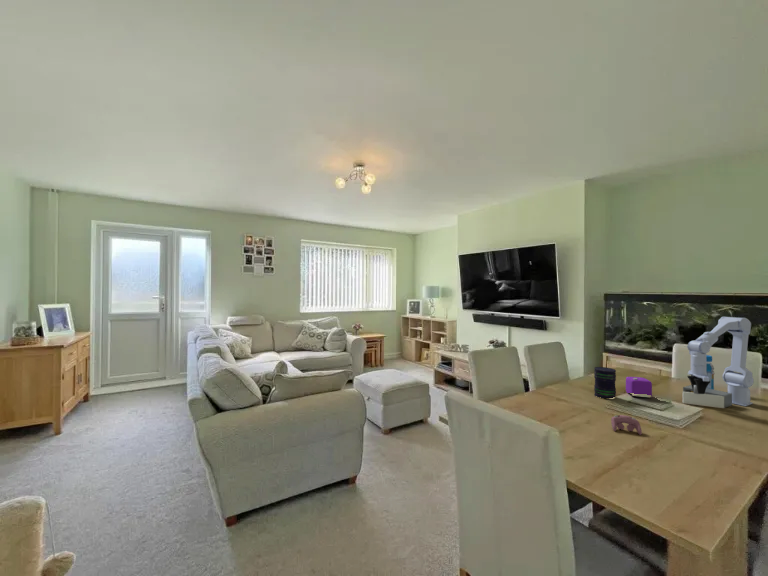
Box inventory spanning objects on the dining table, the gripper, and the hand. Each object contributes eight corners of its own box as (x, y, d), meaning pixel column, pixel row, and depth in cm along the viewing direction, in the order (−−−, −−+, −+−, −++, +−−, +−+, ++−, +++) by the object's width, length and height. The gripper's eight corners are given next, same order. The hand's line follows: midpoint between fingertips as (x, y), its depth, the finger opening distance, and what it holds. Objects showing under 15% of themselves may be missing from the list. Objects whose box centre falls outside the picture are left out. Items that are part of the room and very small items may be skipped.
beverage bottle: (701, 391, 187) (701, 356, 188) (690, 387, 196) (690, 353, 196) (718, 392, 186) (718, 357, 186) (706, 388, 194) (706, 354, 194)
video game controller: (640, 436, 133) (637, 418, 136) (643, 435, 130) (640, 416, 132) (611, 431, 137) (609, 414, 140) (613, 430, 134) (611, 412, 137)
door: (682, 402, 169) (682, 383, 169) (723, 407, 162) (723, 387, 162) (683, 403, 167) (683, 384, 167) (725, 408, 159) (725, 389, 160)
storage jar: (620, 399, 173) (620, 371, 173) (601, 399, 173) (601, 371, 173) (607, 393, 183) (607, 366, 183) (590, 393, 183) (590, 366, 183)
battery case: (691, 395, 180) (691, 384, 180) (731, 405, 165) (731, 393, 165) (683, 398, 176) (683, 387, 176) (724, 407, 161) (724, 395, 161)
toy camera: (639, 391, 187) (639, 374, 187) (656, 399, 174) (656, 380, 174) (618, 390, 188) (618, 373, 189) (634, 398, 175) (634, 379, 175)
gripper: (681, 361, 173) (681, 387, 173) (695, 367, 159) (695, 395, 159) (698, 362, 170) (698, 388, 170) (714, 368, 157) (714, 397, 156)
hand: (698, 392), depth 164 cm, fingers open, 4 cm apart
